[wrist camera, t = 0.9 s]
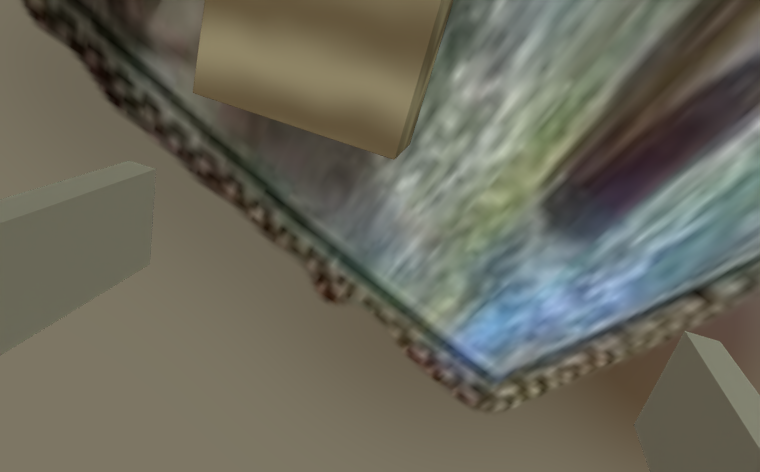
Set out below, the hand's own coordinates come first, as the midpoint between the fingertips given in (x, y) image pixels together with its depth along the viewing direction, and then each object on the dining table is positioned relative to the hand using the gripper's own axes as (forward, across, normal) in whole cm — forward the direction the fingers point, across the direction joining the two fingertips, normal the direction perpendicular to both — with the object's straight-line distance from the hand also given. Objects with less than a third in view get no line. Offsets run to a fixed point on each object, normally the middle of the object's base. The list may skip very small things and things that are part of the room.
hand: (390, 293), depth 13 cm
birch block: (+26, -10, +5) cm, 29 cm away
